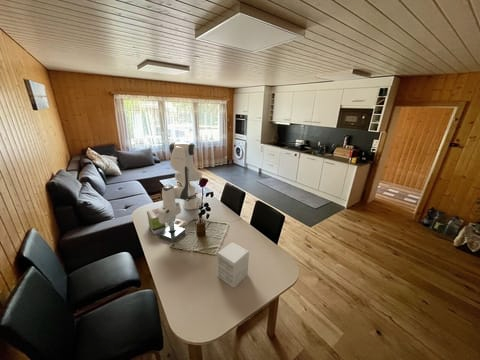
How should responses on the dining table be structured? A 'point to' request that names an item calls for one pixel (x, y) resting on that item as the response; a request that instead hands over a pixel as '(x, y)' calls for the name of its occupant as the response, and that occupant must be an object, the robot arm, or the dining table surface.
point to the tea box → (155, 221)
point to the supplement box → (233, 264)
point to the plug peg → (171, 224)
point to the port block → (171, 237)
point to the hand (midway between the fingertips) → (171, 223)
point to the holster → (179, 223)
